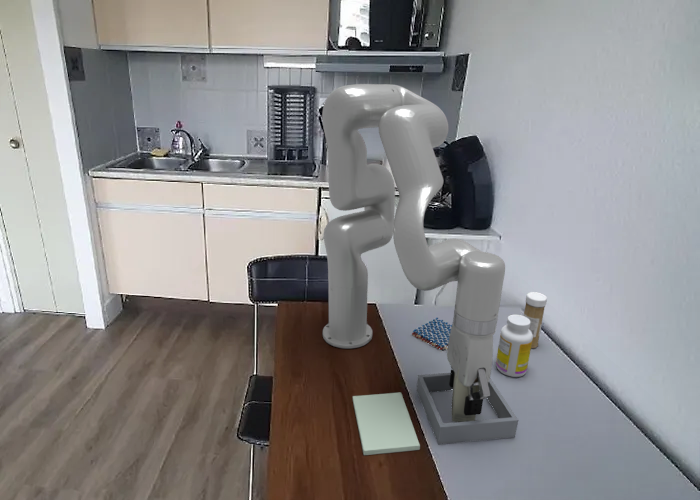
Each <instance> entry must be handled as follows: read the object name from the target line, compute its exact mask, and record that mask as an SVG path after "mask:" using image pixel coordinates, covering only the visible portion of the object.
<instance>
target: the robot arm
mask: <svg viewBox="0 0 700 500" xmlns="http://www.w3.org/2000/svg"><path fill="white" fill-rule="evenodd" d="M321 119H322V126H323V127H322V128H323V131H324V136H325V140H326V147H327V174H328V177H327V178H328V179H327V180H328V196H329V200H330V201H329V202H330V203H331V205H332V206H333V208H335V209H336V210H338V211H343V212H344V211H345V212H346V211H352V210H358V209H363V208H364V210H363V211H359V212H352V213H348V214H345V215H340V216H337V217H335V218H333V219H331V220H330V221H329V222H328V223H326V225H325V227H324V230H323V242H324V247H325V252H326V259H327V269H328V270H327V272H328V273H327V277H328V279H327V281H328V323H327V324H326V325H325V326H324V327H323V329H322V337H323V340H324V341H325V342H326V343H327V344H328V345H330V346H333V347H336V348H339V349H346V350H347V349H356V348H357V349H358V348H361V347H363V346H365V345H367V344H368V343H369V342H370V341H371V340H372V338H373V329H372V327H371V326H370V325H369V324H368V321H367V320H368V319H367V318H368V317H367V316H368V314H367V313H368V287H369V286H368V285H369V283H368V281H369V272H368V268H367V265H366V264H365V262H364V261H363V259H362V257H361V256H362V254H365V253H367V252H370V251H373V250H376V249H380V248H381V247H385V246H386V245H388V244H389V243H390V242H391V240H392V239H393V243H394V249H395V251H396V254H397V257H398V260H399V264H400V266H401V269H402V271H403V274H404V276H405V277H406V279H407V280H408V282H409V284H411V285H412V286H413V287H414V288H415V289H417V290H420V291H424V292H425V291H426V292H427V291H432V290H435V289H438V288H440V287H442V286H445V285H447V284H449V283H452V282H457V283H456V284H457V285H456V294H455V301H454V303H455V304H454V309H453V319H452V324H451V325H452V327H451V332H450V337H449V343H448V349H447V351H446V358H447V361H448V363H449V365H450V367H451V369H450V373H451V374H450V382H449V385H450V387H452V388H453V385H454V376H455V374H456V376H457V372H458V368H459V374H458V379H459V381H460V382H461V384H462V385H463V386H465V387H467V389H468V396H466V399H465V406H464V414H465V415H466V416H467V415H476V416H478V415H481V413H482V411H483V403H484V400H485V399H487V397H489V396H490V391H489V387H488V382H489V379H490V378H491V374H492V366H493V357H494V355H493V354H494V335H495V333H496V331H497V325H498V324H497V323H498V320H499V319H498V318H499V312H500V311H499V310H500V306H501V299H502V294H503V293H502V292H503V286H504V280H505V273H506V264H505V261H504V260H503V259H502V258H501V257H500V256H499V255H497V254H495V253H492V252H487V251H482V250H480V249H478V248H477V247H475V246H474V245H472V244H471V243H469V242H467V241H466V240H464V239H460V238H449V239H446V240H445V239H444V240H443V241H440V242H437V243H433V244H430V245H429V244H428V242H427V238H426V235H425V229H424V228H425V227H424V219H425V213H426V211H427V208H428V206H429V204H430V202H431V201H432V200H433V198H434V197H435V195H436V194H437V193H438V192H439V191H440V190H441V188H442V187H443V185H444V177H443V175H442V174H443V173H442V171H441V168H440V166H439V164H438V163H439V162H438V160H437V156H436V154H435V151H434V148H437V147H439V146H441V145H442V144H444V142H445V141H446V139H447V138H448V134H449V122H448V119H447V116H446V114H445V113H444V111H443V110H442V109H441V108H440V107H439V106H438V105H437V104H436V103H433V102H431V101H430V100H428V99H426V98H424V97H422V96H420V95H418V94H416V93H415V92H413V91H411V90H409V89H407V88H405V87H404V86H401V85H397V84H389V83H386V84H385V83H383V84H379V83H378V84H377V83H374V84H373V83H356V84H355V83H354V84H348V85H347V84H346V85H342V86H340V87H336V88H335V89H333V90H332V91H331V92H330V93H329V94H328V96H326V99H325V101H324V104H323V107H322V117H321ZM374 128H375V129H376V128H378V133H379V137H380V141H381V144H382V148H383V150H384V153H385V156H386V159H387V161H388V162H387V163H388V164H389V165H388V166H389V167H390V170H389V169H388V167H386V166H385V165H382V164H380V163H368V161H367V159H368V156H367V155H368V151H367V145H366V142H365V140H364V138H363V135H362V134H361V133H360V131H359V130H361V129H374ZM395 185H396V186H395ZM396 190H397V191H398V195H399V197H398V198H399V199H398V203H397V205H396V204H395V203H396V202H395V201H396ZM395 205H396V206H397V207H396V209H395ZM476 378H477V380H478V381H475V379H476ZM478 385H479V391H478V392H475V393H473V387H472V386H478Z"/></svg>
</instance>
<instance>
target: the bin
mask: <svg viewBox="0 0 700 500" xmlns="http://www.w3.org/2000/svg"><path fill="white" fill-rule="evenodd" d="M450 374H451V372H441V373H439V372H438V373H425V374H418V375H417V379H416V380H417V381H416V393H417V395H418V398H419V401H420V403H421V406H422V409H423V410H424V413H425V415H426V418H427V420H428V422H429V425H430V427H432V428H431V430H432V433H433V432H434V433H433V434H434V435H433V436H434V437H435V440H436V442H437V445H448V444H449V445H450V444H457V443H458V444H459V443H461V444H462V443H469V442H470V441H471V442H479V440H480V441H489V440H490V441H491V440H498V439H500V440H501V439H511V438H516V436H517V430H518V425H519V418H517V415H516V414H515V412H514V411H513V409H512V408H511V407H510V405H509V404H508V402H507V401H506V399H505V397H504V396H503V395H502V393H501V392H500V390H499V389H498V387H497V386H496V384H495V383H494V381H493V380H492V378H491V377H490V379H489V382H488V387H489V391H490V396H489V397H487V398H488V399H487V398H486V399H487V401H488V400H489V401H488V402H490V403H491V404H490V403H489V404H490V406H491V405H492V406H493V407H492V406H491V407H492V409H493V408H494V409H493V411H494V410H495V411H494V413H495V414H496V413H497V414H496V416H497V415H498V416H497V417H498V418H490V419H479V420H475V421H467V422H447V423H444V422H443V420H442V418H441V416H440V413H439V411H438V409H437V405H436V404H435V402H434V400H433V398H432V395H431V394H430V393H437V391H439V392H447V390H451V389H453V388H452V387H450V385H449V382H450ZM445 390H446V391H445ZM451 391H452V390H451Z"/></svg>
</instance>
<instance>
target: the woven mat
mask: <svg viewBox="0 0 700 500" xmlns="http://www.w3.org/2000/svg"><path fill="white" fill-rule="evenodd" d="M451 327H452V324H449V322H445V321H444V320H443V319H439V317H436V318H432V319H431V320H428V321H427V322H424V324H421V325H420V326H417V328H413V330H412V333H411V336H413V337H415V338H416V339H418V340H420V341H421V342H424V343H426V344H427V343H429V344H431V345H432V346H435V347H437V348H436V349H437V350H438V349H439V348H440V350H442V349H443V350H445V349H447V350H448V348H447V346H448V343H449V337H450V332H451ZM430 341H432V342H430ZM429 344H428V345H429ZM436 344H437V345H436ZM431 345H430V346H431ZM432 346H431V347H432ZM435 347H434V348H435ZM440 350H439V351H440Z"/></svg>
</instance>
